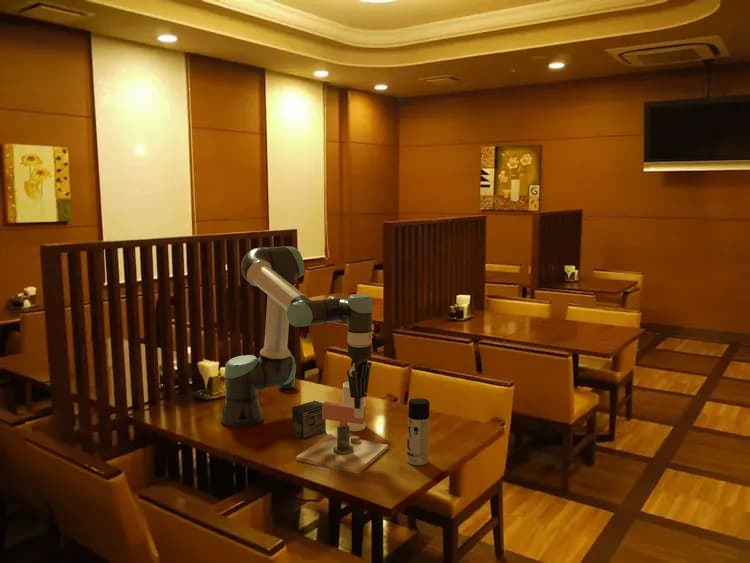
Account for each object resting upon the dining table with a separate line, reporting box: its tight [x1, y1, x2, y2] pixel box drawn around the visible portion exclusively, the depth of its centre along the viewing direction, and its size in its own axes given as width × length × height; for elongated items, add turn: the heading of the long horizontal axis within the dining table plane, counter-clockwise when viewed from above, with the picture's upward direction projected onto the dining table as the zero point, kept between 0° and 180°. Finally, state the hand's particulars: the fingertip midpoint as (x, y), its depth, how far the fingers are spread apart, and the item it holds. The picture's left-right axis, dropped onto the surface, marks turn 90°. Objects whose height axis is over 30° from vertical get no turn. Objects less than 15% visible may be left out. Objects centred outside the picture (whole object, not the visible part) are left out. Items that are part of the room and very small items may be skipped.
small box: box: [291, 400, 327, 441], centre depth 223 cm, size 11×6×10 cm, turn 134°
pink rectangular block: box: [322, 401, 367, 428], centre depth 205 cm, size 14×3×7 cm, turn 71°
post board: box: [295, 424, 389, 475], centre depth 206 cm, size 22×22×9 cm
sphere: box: [279, 375, 296, 390], centre depth 274 cm, size 8×8×8 cm
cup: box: [342, 381, 367, 432], centre depth 230 cm, size 8×8×16 cm
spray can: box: [406, 397, 431, 467], centre depth 201 cm, size 7×7×20 cm
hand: (358, 417), depth 202 cm, fingers closed
